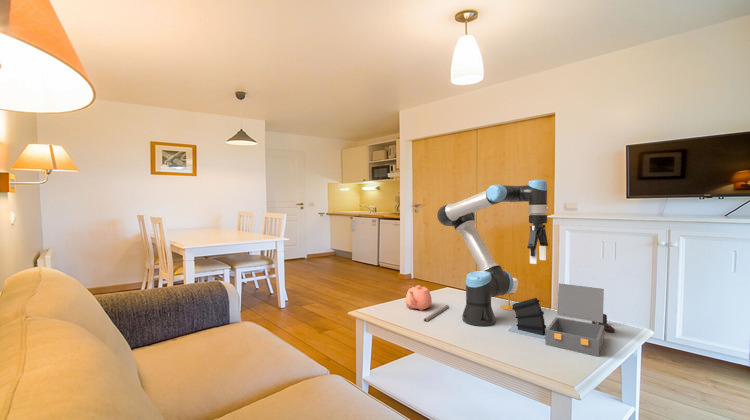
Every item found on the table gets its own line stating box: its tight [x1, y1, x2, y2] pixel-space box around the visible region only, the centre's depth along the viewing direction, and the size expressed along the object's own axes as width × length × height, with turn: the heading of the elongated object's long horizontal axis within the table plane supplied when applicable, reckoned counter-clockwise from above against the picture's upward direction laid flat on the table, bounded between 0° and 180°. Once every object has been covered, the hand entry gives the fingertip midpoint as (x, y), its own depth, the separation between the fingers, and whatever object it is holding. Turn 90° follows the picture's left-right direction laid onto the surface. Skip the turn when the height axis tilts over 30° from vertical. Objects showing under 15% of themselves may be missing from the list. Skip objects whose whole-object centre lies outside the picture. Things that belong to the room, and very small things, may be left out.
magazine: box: [511, 297, 547, 335], centre depth 151 cm, size 4×13×15 cm, turn 47°
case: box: [545, 317, 605, 358], centre depth 141 cm, size 18×25×16 cm
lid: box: [556, 283, 605, 323], centre depth 149 cm, size 17×14×1 cm
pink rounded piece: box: [404, 285, 432, 312], centre depth 187 cm, size 13×20×12 cm, turn 148°
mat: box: [507, 324, 546, 340], centre depth 151 cm, size 15×8×1 cm, turn 52°
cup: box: [500, 277, 519, 311], centre depth 187 cm, size 9×9×16 cm
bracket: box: [591, 313, 616, 334], centre depth 157 cm, size 6×12×5 cm, turn 165°
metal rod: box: [423, 304, 450, 322], centre depth 177 cm, size 2×27×2 cm, turn 146°
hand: (538, 261), depth 154 cm, fingers open, 13 cm apart
